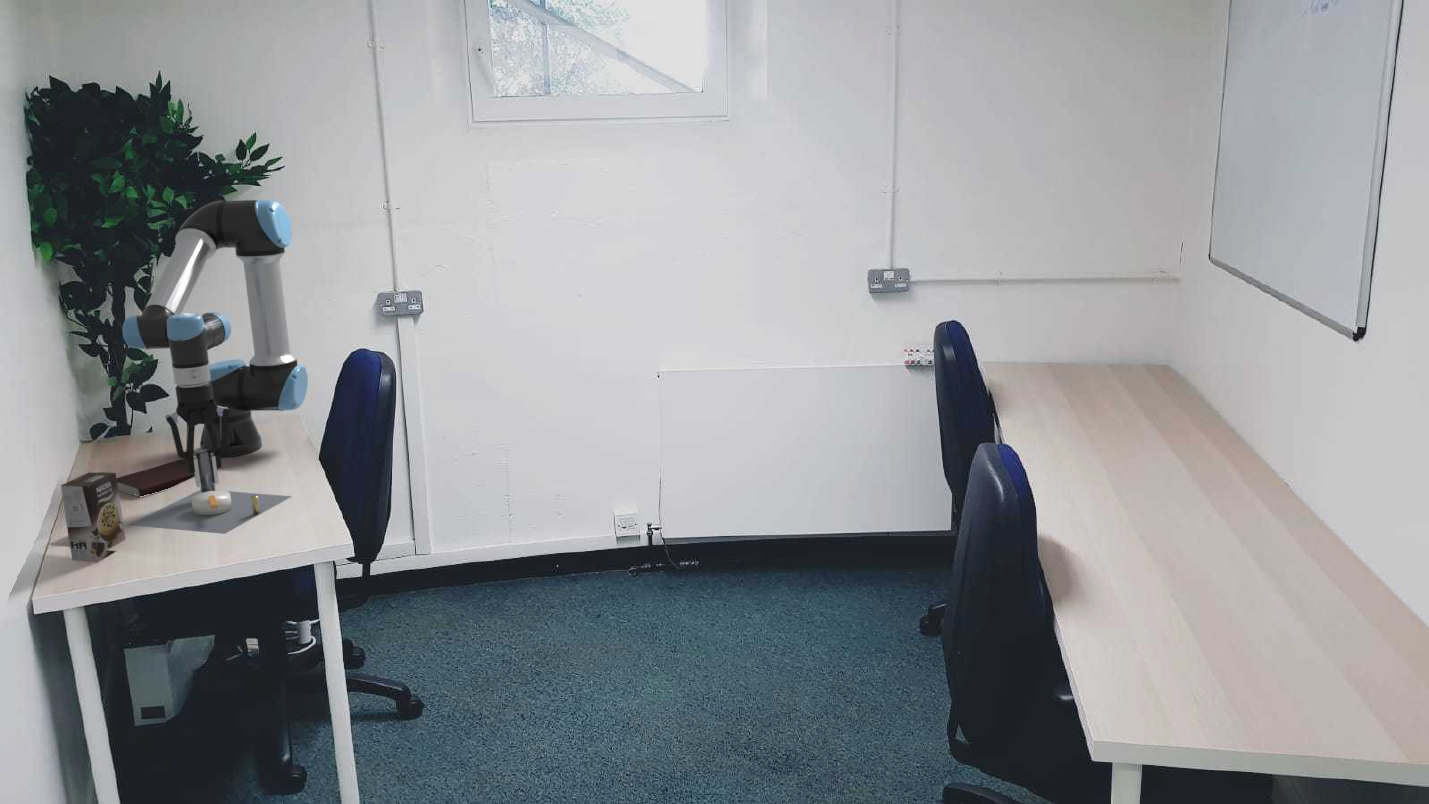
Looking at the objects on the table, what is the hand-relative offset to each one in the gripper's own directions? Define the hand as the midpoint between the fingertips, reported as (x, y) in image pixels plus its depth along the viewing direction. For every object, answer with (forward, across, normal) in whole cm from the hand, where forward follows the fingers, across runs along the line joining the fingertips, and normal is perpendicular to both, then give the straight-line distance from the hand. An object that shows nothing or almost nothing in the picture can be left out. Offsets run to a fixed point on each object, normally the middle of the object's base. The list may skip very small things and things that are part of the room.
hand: (207, 483), depth 274 cm
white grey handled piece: (+4, -1, -9) cm, 10 cm away
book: (+6, -7, +24) cm, 25 cm away
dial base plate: (+5, -1, -9) cm, 10 cm away
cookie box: (+5, -24, -19) cm, 31 cm away
